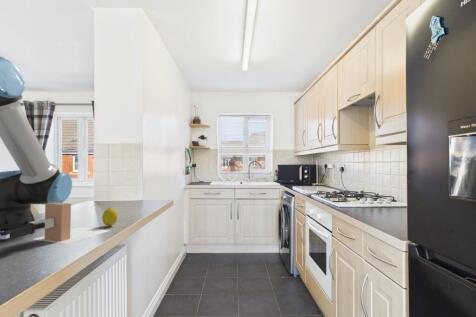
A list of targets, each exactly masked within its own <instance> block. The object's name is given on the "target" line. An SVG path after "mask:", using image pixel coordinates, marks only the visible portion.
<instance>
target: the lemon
mask: <svg viewBox="0 0 476 317" xmlns="http://www.w3.org/2000/svg"><path fill="white" fill-rule="evenodd" d="M117 221H118V212H117V210H116V209H114V208H112V207H108V208H107V209H106V210H104V211H103V214H102V223H103V224H104V225H105V226H107V227H108V228H111V227H112V226H113V225H115V224H116V223H117Z"/></svg>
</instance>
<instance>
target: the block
mask: <svg viewBox="0 0 476 317" xmlns="http://www.w3.org/2000/svg"><path fill="white" fill-rule="evenodd" d="M44 205H45V207H44V208H45V209H44V212H45V213H44V219H50V218H53V219H54V227H51V228H46V229H44V236H45V239H48V240H54V241H65V240H68V239H70V230H71V220H72V219H71V218H72V215H71V214H72V213H71V210H72V209H71V208H72V204H71V203H69V202H68V203H67V202H62V203H56V202H53V203H46V204H44Z"/></svg>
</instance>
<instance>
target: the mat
mask: <svg viewBox="0 0 476 317" xmlns="http://www.w3.org/2000/svg"><path fill="white" fill-rule="evenodd" d="M107 232H112V230H110V229H109V230H108V229H100V228H91V227H86V226H85V227H83V226H81V227H79V226H78V227H76V228H70V239H68V240H65V241H54V240H48V239H45V235H42V236H39V237H35V238H33V240H34V241H35V240H36V241H41V242H47V243H55V244H62V245H68V244H70V243H75V242H77V241H81V240H85V239H88V238H91V237H95V236H98V235H102V234H104V233H107Z"/></svg>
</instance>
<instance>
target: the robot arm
mask: <svg viewBox="0 0 476 317" xmlns="http://www.w3.org/2000/svg"><path fill="white" fill-rule="evenodd" d="M24 85H25V79H24V76H23V74H22V72H21V71H20V69H19V67H17V66H16V65H15V64H14V63H13V62H12V61H10V60H8V59H6V57H3V56H0V139H1V141H2V143H3V144H4V146H5V148H6V150H7V151H8V152H9V154H10V156H11V157H12V159H13V161H14V162H15V164H16V165H17V167H18V169H19V170H18V169H17V170H6V171H0V242H1V243H6V242H8V241H10V240H14V239H17V238H20V237H21V238H22V237H25V236H27V235H34V234H35V233H36V232H37V231H41V230H45V229H46V228H51V227H54V219H53V218H50V219H45V218H44V219H40V220H39V219H38V220H35V217H34V214H33V211H32V205H45V204H46V203H53V202H56V203H65V201H67V199H68V198H69V197H70V194H71V192H72V189H73V180H72V177H71V175H69V174H67V173H65V172H63V173H61V172H60V169H59V168H58V165H56V164H54V163H50V161H49V159H48V157H47V154H46V153H45V151H44V149H43V147H42V145H41V143H40V141H39V139H38V137H37V134H35V132H34V130H33V128H32V126H31V123H30V122H29V120H28V118H27V116H26V114H25V112H24V110H23V108H22V106H21V105H20V103H21V102H22V100H23V98H24V97H23V95H22V94H23V92H24V91H25V88H26V86H24Z"/></svg>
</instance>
